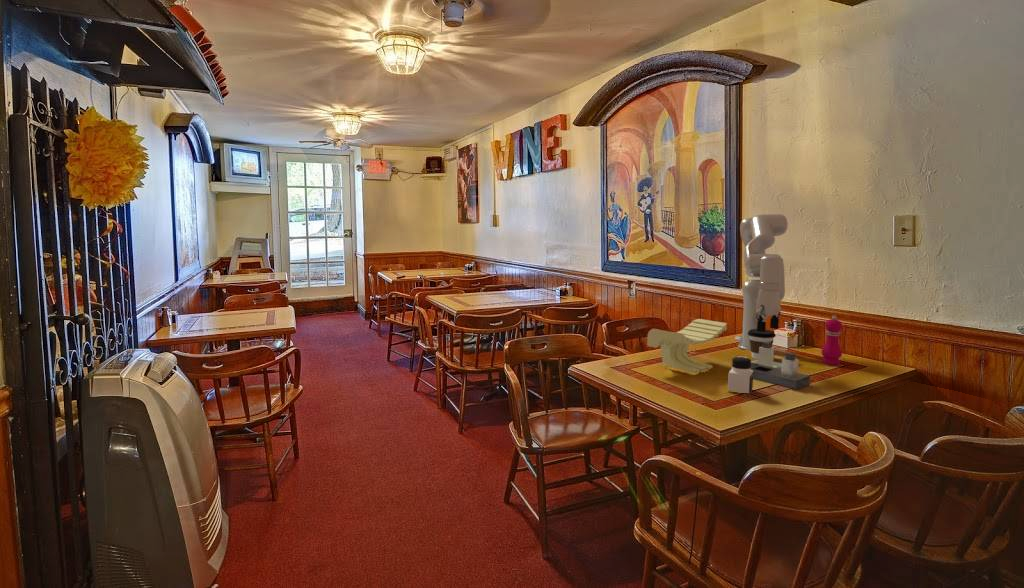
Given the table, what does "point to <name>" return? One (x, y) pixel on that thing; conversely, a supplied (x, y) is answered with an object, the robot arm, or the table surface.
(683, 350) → the slatted curved stool
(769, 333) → the coffee cup
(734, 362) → the medicine bottle
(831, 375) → the table surface
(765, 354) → the plug
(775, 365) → the tray
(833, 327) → the pepper mill
